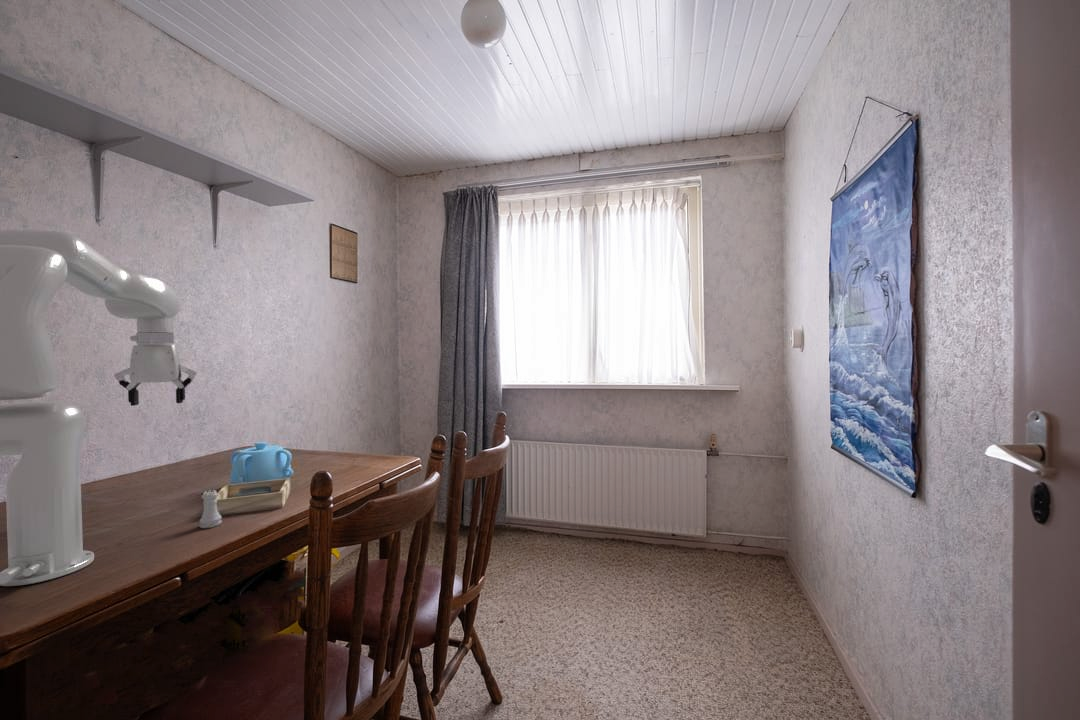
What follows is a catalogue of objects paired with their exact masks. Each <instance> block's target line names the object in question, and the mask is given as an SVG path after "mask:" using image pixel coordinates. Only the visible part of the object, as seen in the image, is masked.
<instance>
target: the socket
mask: <svg viewBox="0 0 1080 720" xmlns="http://www.w3.org/2000/svg"><path fill="white" fill-rule="evenodd" d="M268 493H272V490H271V485H265V486H256V487H247V488H240V489H239V494H236V495H233V497H242V496H250V495H259V494H268Z"/></svg>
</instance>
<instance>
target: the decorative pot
mask: <svg viewBox="0 0 1080 720" xmlns="http://www.w3.org/2000/svg"><path fill="white" fill-rule="evenodd" d="M267 444H268V441H257V442H255V443H254V446H253V447H248V448H246V449H239V450H236V451H234V452H233V453H231V455H230V464H231V470H230V476H229V482H230V484H239V483H248V482H257V481H267V480H276V479H285V478H291V477H292V476H293V475H294V470H293V469H292V467H291V466H292V465H291V462H292V460H293V459H292V457H293V455H292V453H291V451H289V450H287V449H284V448H283V447H282V446H281V445H277V444H276V445H275V444H274V445H267Z"/></svg>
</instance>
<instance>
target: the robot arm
mask: <svg viewBox="0 0 1080 720" xmlns="http://www.w3.org/2000/svg"><path fill="white" fill-rule="evenodd" d="M65 283H66V284H68V285H69V286H71V287H73V288H75V289H76V290H78V291H80V292H81V293H83V294H85V295H88V296H91V297H94V298H101V299H104V305H105V308H106V310H107V311H108V313H110V314H111V315H113V316H114V317H117V318H120V319H125V320H126V319H127V320H129V319H130V320H131V319H132V320H135V319H136V334H135V335H131V336H130V338H129V339H130V341H131V342H135V343H136V345H133V346H132V349H131V353H130V362H129V367H127V368H125V369H122V370H121V371H118V372H117V373H116V372H115V374H114V378H115V379H116V380H117V382H118V383H119V385H120V386H121V387H123V388H124V389H125V390H126V391H127V394H128V396H127V399H128V403H130V406H133V407H134V406H138V405H139V404H140V402H139V401H140V400H139V399H140V397H139V393H140V392H139V390H138V389H137V388H138V387H139V386H140V385H141V384H144V383H145V384H147V383H149V384H150V383H170V382H172V383H173V384H174V385H176V387H177V388H176V389H175V402H176V404H182V403H183V402H184V401H185V400H186V388H187V386H189V385H190V384H191V383H193V380H194V379H195V377H196V375H197V373H198V372H197V371H195V370H193V369H191V368H187V367H185V366H182V363H181V358H180V357H181V356H180V352H179V348H178V345H176V344H175V337H174V336H175V335H174V317H175V316H177V315H178V314H179V312H180V311H181V310H180V309H181V301H180V298H179V296H178V295H177V293H176V292H175V291H174V290H173V289H172V287H170V286H169V285H168V284H166V283H165V282H164V281H162V280H160V279H158V278H157V277H154V276H151V275H150V274H147V273H142V272H139V271H136V270H133V269H131V268H128V267H125V266H121V265H118V264H115V263H114V262H112V261H111V260H109V259H107V258H106V257H105V256H103V255H102V253H99V252H98V251H97V250H95V249H94V248H93V247H91V246H90V245H89V244H88V243H87V242H85V241H83V240H82V239H81V238H79V237H77V236H76V235H74V234H71V233H68V232H63V231H56V230H55V231H54V230H31V229H30V230H29V229H28V230H27V229H2V230H0V401H15V400H17V401H18V400H30V399H38V398H39V399H40V398H43V397H46V396H49V395H52V394H54V393H55V392H56V391H57V390H58V388H59V386H60V384H61V374H60V368H59V365H58V361H57V358H56V355H55V351H54V348H53V345H52V342H51V341H52V340H51V339H50V336H49V332H48V328H47V323H46V321H47V320H46V318H47V312H48V309H49V307H50V304H51V302H52V301H53V300H54V297H55V296H56V294H57V293H58V292H59V290H60V289H61V288H62V286H63V285H64V284H65ZM182 373H185V374H187V377H186V379H184V380H182V379H181V378H182ZM127 375H128V376H129V380H130V382H129V381H128V380H127V379H126V378H125V376H127ZM86 428H87V418H86V415H85V413H84V412H83V410H82V409H81V408H79V407H78V406H76V405H74V404H71V403H67V402H61V401H31V402H29V401H27V402H10V403H9V402H7V403H6V402H5V403H0V457H2V456H5V457H6V456H21V458H20V459H19V461H18V462H17V463H16V464H15V466H14V467H13V468H12V469H11V471H10V472H9V474H8V475H7V478H6V482H5V502H6V503H5V506H6V532H7V536H6V537H7V560H8V564H7V565H8V567H7V568H5V569H3V570H2V571H0V587H1V586H2V587H16V586H18V587H19V586H25V585H26V586H27V585H31V584H36V583H41V582H45V581H49V580H54V579H57V578H60V577H62V576H66V575H68V574H71V573H74V572H76V571H79V570H81V569H83V568H85V567H87V566H88V565H90V564H91V563H93V561H94V560H95V553H94V552H93V551H91V550H84V549H83V548H84V545H83V544H84V543H83V517H82V515H83V511H82V509H83V508H82V483H81V457H82V456H81V455H82V448H83V447H82V446H83V442H84V438H85V434H86V430H87V429H86Z"/></svg>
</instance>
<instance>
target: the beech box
mask: <svg viewBox="0 0 1080 720" xmlns="http://www.w3.org/2000/svg"><path fill="white" fill-rule="evenodd" d="M265 485H271V490H272V493H268V494H259V495H250V496H242V497H233V495H236V494H239V489H240V488H247V487H256V486H265ZM217 493H218V496H217V497H216V500H217V502H216V503H217V510H218V513H219V515H221V517H223V516H230V515H238V514H244V513H246V514H247V513H253V512H259V511H260V512H261V511H269V510H277V509H283V508H284V506H285V503H287V499H288V498H289V496H290V494H291V477H288V478H285V479H276V480H267V481H257V482H248V483H239V484H231V483H229V484H225V485H224V486H223V487H222V488H221V489H220V490H219V491H218V492H217Z"/></svg>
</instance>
